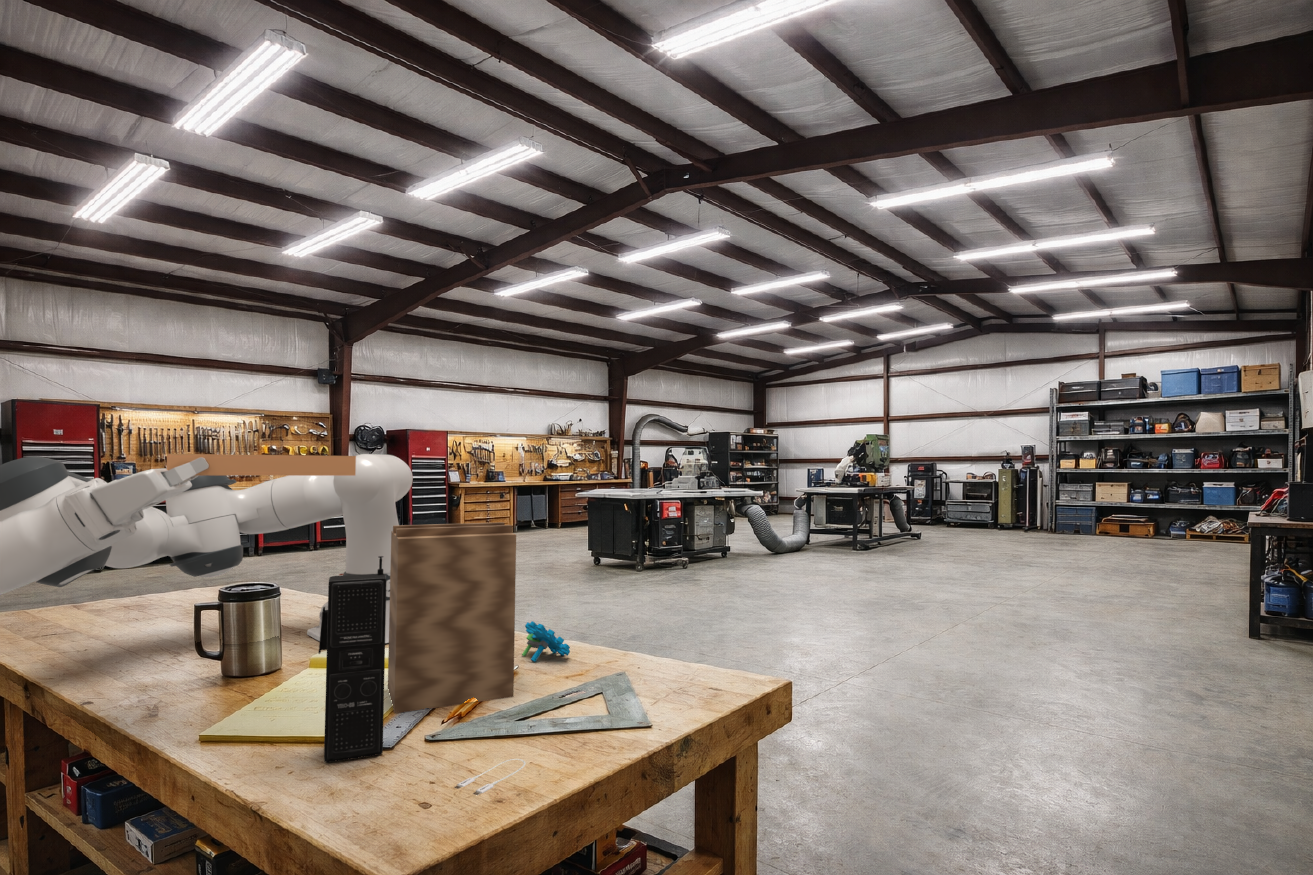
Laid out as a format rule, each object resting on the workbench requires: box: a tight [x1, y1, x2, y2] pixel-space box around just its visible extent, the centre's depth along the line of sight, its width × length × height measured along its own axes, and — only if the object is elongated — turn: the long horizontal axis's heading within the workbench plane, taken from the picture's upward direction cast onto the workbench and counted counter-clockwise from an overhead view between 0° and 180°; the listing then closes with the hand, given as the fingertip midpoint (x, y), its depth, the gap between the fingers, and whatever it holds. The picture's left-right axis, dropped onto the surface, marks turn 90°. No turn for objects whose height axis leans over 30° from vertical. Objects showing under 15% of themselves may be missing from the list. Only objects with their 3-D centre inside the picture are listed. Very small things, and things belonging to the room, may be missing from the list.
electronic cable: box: [453, 758, 527, 796], centre depth 83 cm, size 4×10×1 cm, turn 150°
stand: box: [387, 521, 517, 714], centre depth 113 cm, size 18×12×27 cm, turn 116°
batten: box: [166, 453, 357, 476], centre depth 102 cm, size 24×3×3 cm, turn 116°
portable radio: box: [318, 556, 387, 764], centre depth 90 cm, size 8×6×25 cm
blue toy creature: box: [521, 620, 571, 663], centre depth 132 cm, size 11×6×10 cm
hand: (209, 461), depth 99 cm, fingers closed on batten, 3 cm apart
